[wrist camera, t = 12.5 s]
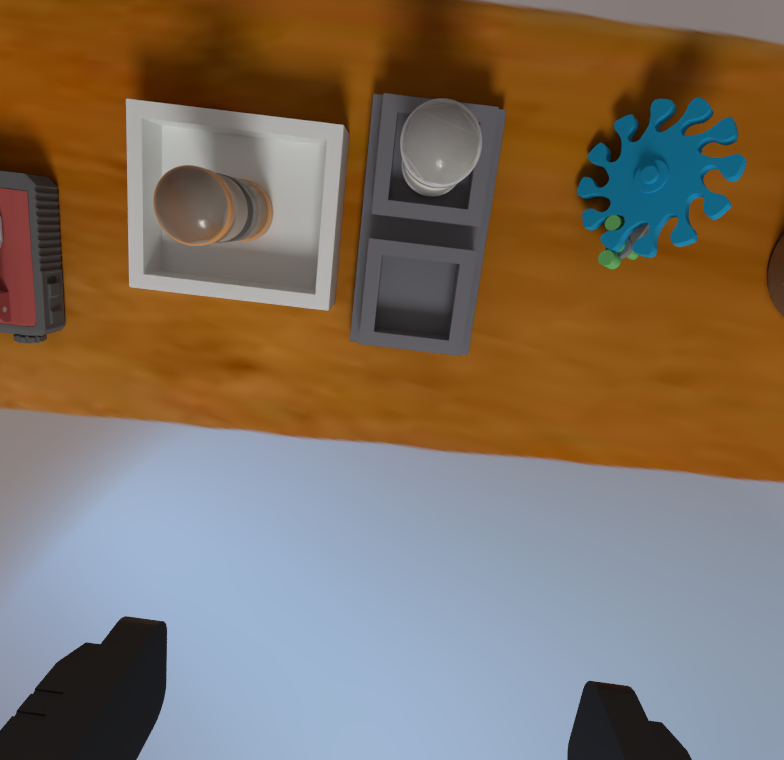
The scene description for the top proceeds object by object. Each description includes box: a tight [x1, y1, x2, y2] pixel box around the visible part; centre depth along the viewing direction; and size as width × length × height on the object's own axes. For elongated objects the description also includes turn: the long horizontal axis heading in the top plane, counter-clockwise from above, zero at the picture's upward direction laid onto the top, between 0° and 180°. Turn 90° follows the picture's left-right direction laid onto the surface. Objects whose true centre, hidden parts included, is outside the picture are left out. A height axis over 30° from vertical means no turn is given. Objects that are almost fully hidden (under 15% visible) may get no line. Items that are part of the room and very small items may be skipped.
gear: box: [577, 97, 747, 269], centre depth 37 cm, size 11×6×10 cm
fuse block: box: [350, 93, 506, 356], centre depth 38 cm, size 17×9×3 cm, turn 173°
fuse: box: [400, 98, 482, 197], centre depth 33 cm, size 4×4×10 cm
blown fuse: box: [153, 165, 273, 246], centre depth 34 cm, size 4×4×10 cm
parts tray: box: [126, 99, 350, 311], centre depth 38 cm, size 14×12×4 cm
